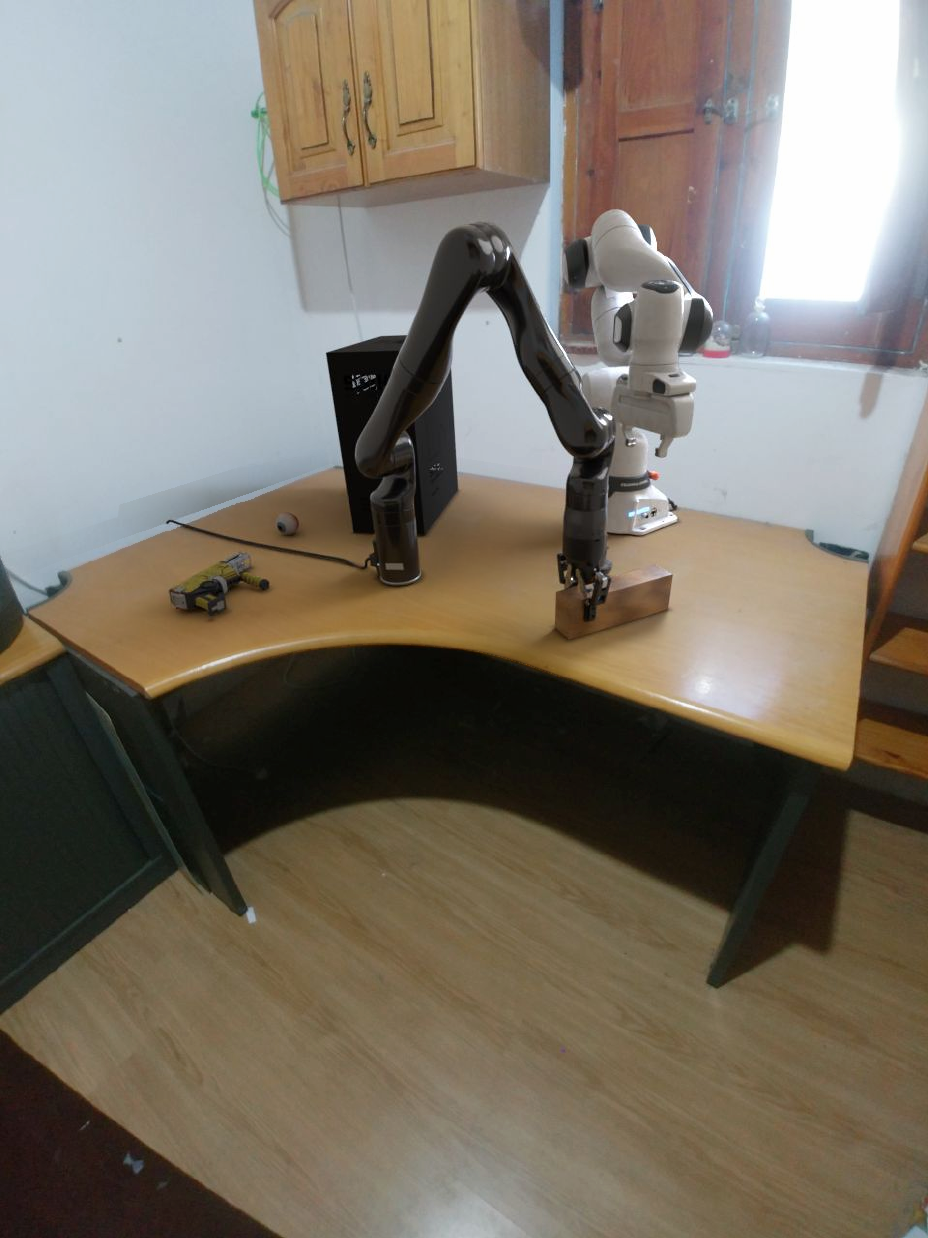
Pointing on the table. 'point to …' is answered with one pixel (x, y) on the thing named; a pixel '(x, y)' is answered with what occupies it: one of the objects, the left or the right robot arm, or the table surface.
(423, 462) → the cardboard box
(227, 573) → the toy gun
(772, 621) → the table surface
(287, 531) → the eyeball
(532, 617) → the table surface
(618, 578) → the bar
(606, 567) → the dark grey chess piece
